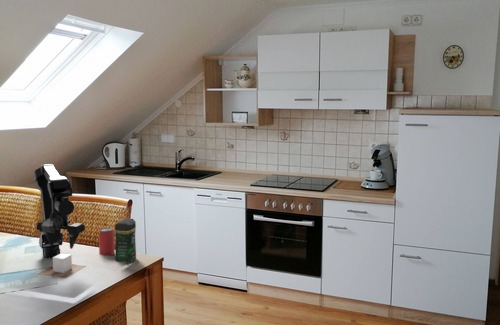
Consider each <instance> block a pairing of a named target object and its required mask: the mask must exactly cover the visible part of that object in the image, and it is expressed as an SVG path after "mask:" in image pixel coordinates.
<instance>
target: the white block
mask: <svg viewBox="0 0 500 325" xmlns="http://www.w3.org/2000/svg"><path fill="white" fill-rule="evenodd" d="M72 264H73V262H72V254H68V253H67V254H66V253H61V252H60V254H59V255H57V256H55V257H53V258H52V266H53V271H54V272H61V273H65V272H66V271H68V270H70V269H72Z"/></svg>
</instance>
